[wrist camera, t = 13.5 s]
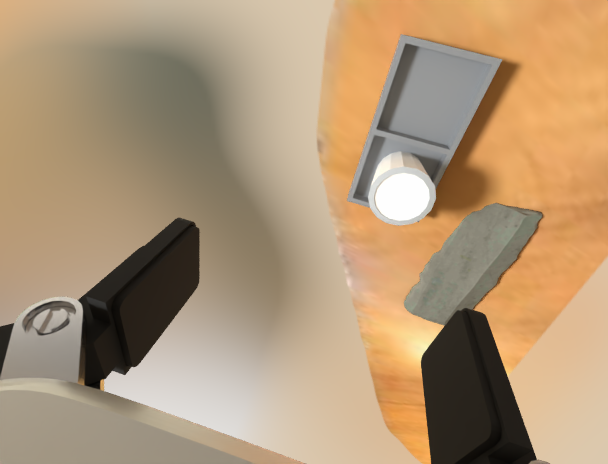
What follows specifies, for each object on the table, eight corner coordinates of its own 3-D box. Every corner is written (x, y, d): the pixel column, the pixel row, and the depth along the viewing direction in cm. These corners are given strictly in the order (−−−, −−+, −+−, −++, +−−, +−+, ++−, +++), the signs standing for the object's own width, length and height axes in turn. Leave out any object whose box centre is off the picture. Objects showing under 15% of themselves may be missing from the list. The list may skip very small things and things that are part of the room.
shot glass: (402, 133, 35) (405, 152, 29) (441, 173, 36) (451, 199, 30) (359, 173, 38) (354, 197, 33) (396, 208, 40) (397, 236, 34)
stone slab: (400, 299, 52) (458, 324, 50) (399, 310, 49) (459, 337, 48) (469, 185, 39) (550, 213, 37) (471, 193, 37) (557, 223, 35)
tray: (348, 192, 41) (346, 200, 39) (400, 34, 31) (401, 34, 29) (417, 212, 41) (418, 222, 39) (494, 58, 30) (502, 59, 28)
